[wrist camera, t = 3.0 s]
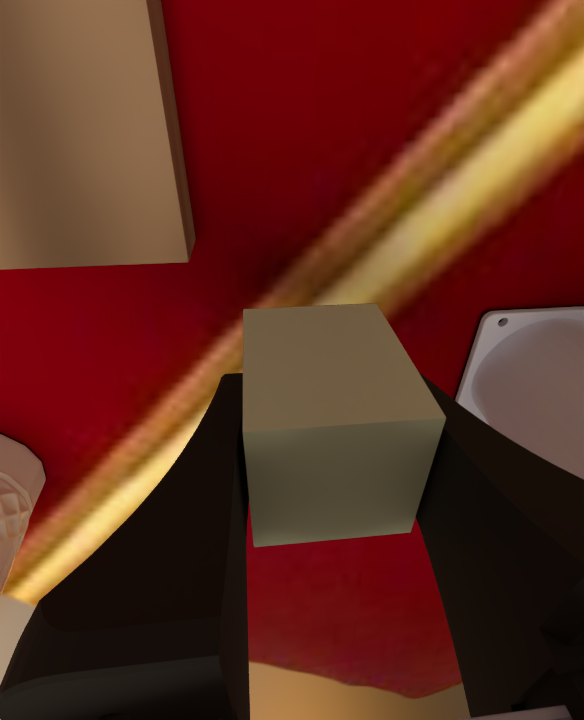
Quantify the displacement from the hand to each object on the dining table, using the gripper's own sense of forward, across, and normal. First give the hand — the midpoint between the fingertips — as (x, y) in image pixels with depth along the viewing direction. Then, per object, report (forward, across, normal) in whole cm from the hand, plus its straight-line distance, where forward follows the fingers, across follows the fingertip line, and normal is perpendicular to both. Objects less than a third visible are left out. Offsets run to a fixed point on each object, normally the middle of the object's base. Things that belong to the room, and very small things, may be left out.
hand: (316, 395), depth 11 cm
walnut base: (+9, +8, -6) cm, 13 cm away
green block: (+2, 0, 0) cm, 2 cm away
